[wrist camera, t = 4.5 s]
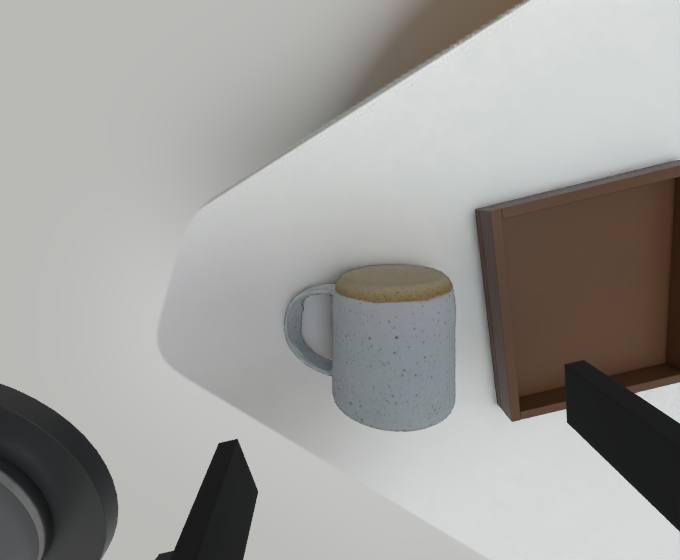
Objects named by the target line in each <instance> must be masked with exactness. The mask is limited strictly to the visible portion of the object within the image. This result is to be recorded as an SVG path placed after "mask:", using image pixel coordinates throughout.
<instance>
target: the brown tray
mask: <svg viewBox="0 0 680 560" xmlns="http://www.w3.org/2000/svg"><path fill="white" fill-rule="evenodd" d="M476 219H477V228H478V236H479V245H480V254H481V263H482V271H483V280H484V289H485V297H486V306H487V315H488V323H489V332H490V341H491V349H492V358H493V367H494V376H495V384H496V393H497V402H498V405H499V406H500V408H502V410H503V411H504V413H505V414H506V415H507V416H508V417H509V419H510V420H511V421H512V422H513V421H518V420H521V419H525V418H530V417H534V416H538V415H542V414H547V413H551V412H555V411H559V410H564V409H566V389H565V368H564V364H568V363H572V362H577V361H581V360H585V361H586V362H588V363H589V364H591V365H592V366H594V367H595V368H597V369H598V370H600V371H601V372H603V373H604V374H606V375H607V376H609V377H610V378H612V379H613V380H615V381H616V382H618V383H619V384H621V385H622V386H624V387H625V388H627V389H628V390H630V391H631V392H633V393H636V392H640V391H644V390H649V389H653V388H657V387H661V386H666V385H670V384H674V383H678V382H680V160H677V161H673V162H668V163H664V164H660V165H656V166H652V167H648V168H644V169H640V170H635V171H631V172H627V173H623V174H619V175H615V176H611V177H607V178H602V179H598V180H594V181H590V182H586V183H582V184H578V185H574V186H569V187H565V188H561V189H557V190H553V191H549V192H545V193H541V194H536V195H532V196H528V197H524V198H520V199H516V200H512V201H508V202H503V203H499V204H495V205H491V206H487V207H483V208H479V209H476Z"/></svg>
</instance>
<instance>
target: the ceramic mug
mask: <svg viewBox="0 0 680 560" xmlns="http://www.w3.org/2000/svg"><path fill="white" fill-rule="evenodd" d="M319 294H324V295H327V294H330V295H332V296H333V300H332V325H333V350H332V360H329V359H326V358H324V357H322V356H320V355H318V354H317V353H315V352H313V351H312V350H311V349H310V348H309V347H308V346H307V344H306V343H305V342H304V340H303V337H302V335H301V315H302V312H303V310H304V308H303V301H304V299H305V298H307V297H309V296H310V295H319ZM455 322H456V305H455V297H454V290H453V286H452V283H451V281H450V279H449V278H448V277H447V276H446V275H445V274H444V273H442V272H441V271H438V270H436V269H433V268H428V267H423V266H415V265H375V266H367V267H361V268H357V269H354V270H350V271H348V272H346V273H344V274H343V275H342V276H341V277H340V278H339V279H338V280H337V282H336V284H322V285H317V286H313V287H311V288H309V289H307V290H304V291H303V292H301V293H300V294H298V295H297V296H296V297H295V298H294V299H293V300H292V302H291V303H290V305H289V306H288V308H287V311H286V315H285V321H284V326H285V336H286V340H287V343H288V345H289V347H290V349H291V350H292V352H293V353H294V354H295V355H296V356H297V357H298V358H299V359H300V360H301V361H302V362H303V363H304V364H306V365H307V366H309V367H310V368H312V369H314V370H316V371H318V372H321V373H323V374H326V375H329V376H332V393H333V396H334V400H335V403H336V405H337V406H338V407H339V409H340V410H341V411H342V412H343V413H344V414H345V415H347V416H348V417H350V418H351V419H353V420H355V421H357V422H359V423H361V424H364V425H366V426H369V427H373V428H376V429H380V430H385V431H404V432H406V431H415V430H420V429H425V428H428V427H431V426H433V425H436V424H438V423H440V422H441V421H443V420H444V419H445V418H446V417H447V416H448V415H449V414H450V413H451V411H452V409H453V407H454V404H455Z"/></svg>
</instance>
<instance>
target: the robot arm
mask: <svg viewBox="0 0 680 560" xmlns="http://www.w3.org/2000/svg"><path fill="white" fill-rule="evenodd" d="M564 368H565V389H566V410H567V423H568V424H569V425H570V426H571V427H572V428H573V429H575V430H576V431H577V432H578V433H579V434H580V435H581V436H582V437H583V438H584V439H585V440H586V441H587V442H588V443H589V444H590V445H591V446H592V447H593V448H594V449H595V450H596V451H597V452H598V453H599V454H600V455H601V456H602V457H603V458H604V459H605V460H606V461H608V462H609V463H610V464H611V465H612V466H613V467H614V468H615V469H616V470H617V471H618V472H619V473H620V474H621V475H622V476H623V477H624V478H625V479H626V480H627V481H628V482H629V483H630V484H631V485H632V486H633V487H634V488H635V489H636V490H637V491H638V492H639V493H641V494H642V495H643V496H644V497H645V498H646V499H647V500H648V501H649V502H650V503H651V504H652V505H653V506H654V507H655V508H656V509H657V510H658V511H659V512H660V513H661V514H662V515H663V516H664V517H665V518H666V519H667V520H668V521H669V522H670V523H671V524H673V525H674V526H675V527H676V528H677V529H678V530H679V531H680V423H678V422H677V421H675V420H674V419H672V418H671V417H669V416H668V415H666V414H665V413H663V412H662V411H660V410H659V409H657V408H656V407H654V406H653V405H651V404H650V403H648V402H647V401H645V400H643V399H642V398H640V397H639V396H637V395H636V394H634V393H633V392H631V391H630V390H628V389H627V388H625V387H624V386H622V385H621V384H619V383H618V382H616V381H615V380H613V379H612V378H610V377H609V376H607V375H606V374H604V373H603V372H601V371H600V370H598V369H597V368H595V367H594V366H592V365H591V364H589V363H588V362H586V361H585V360H581V361H577V362H572V363H568V364H564ZM257 494H258V490H257V488H256V485H255V482H254V480H253V477H252V475H251V472H250V470H249V467H248V465H247V462H246V460H245V457H244V454H243V452H242V449H241V447H240V444H239V442H238V439H235V440H231V441H227V442H222V443H219V444H218V447H217V449H216V451H215V454H214V456H213V459H212V461H211V463H210V466H209V468H208V470H207V473H206V475H205V478H204V480H203V482H202V485H201V487H200V490H199V492H198V494H197V497H196V499H195V502H194V504H193V506H192V509H191V511H190V514H189V516H188V518H187V521H186V523H185V526H184V528H183V531H182V533H181V535H180V538H179V540H178V542H177V545H176V547H175V550H174V551H171V552H167V553H162V554H159V555H158V557H157V558H156V559H155V560H243V558H244V553H245V548H246V544H247V539H248V535H249V530H250V526H251V521H252V517H253V512H254V508H255V503H256V498H257ZM52 538H53V521H52V516H51V513H50V509H49V507H48V505H47V502H46V501H45V499H44V497H43V495H42V494H41V492H40V491H39V489H38V488H37V487H36V486H35V484H34V483H33V482H32V481H31V480H30V479H29V478H28V477H27V476H26V475H25V474H24V473H23V472H22V471H21V470H19V469H18V468H17V467H16V466H14V465H13V464H12V463H10V462H9V461H7V460H6V459H4V458H2V457H1V456H0V560H43V559H44V557H45V556H46V554H47V552H48V550H49V548H50V546H51V542H52Z"/></svg>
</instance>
